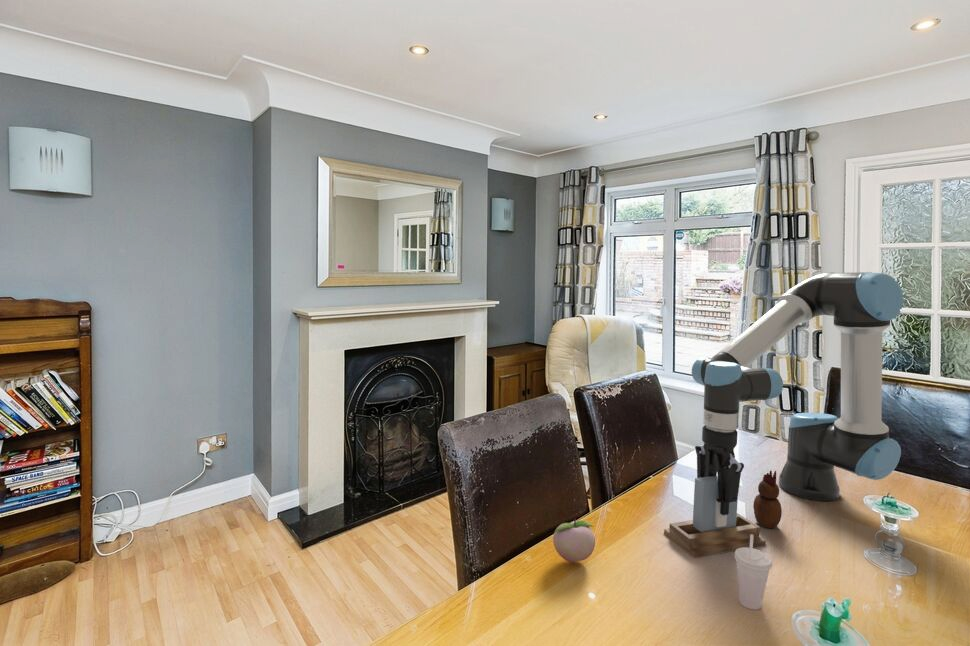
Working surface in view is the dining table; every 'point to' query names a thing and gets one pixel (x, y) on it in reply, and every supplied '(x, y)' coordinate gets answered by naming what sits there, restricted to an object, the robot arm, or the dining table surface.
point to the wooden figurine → (768, 502)
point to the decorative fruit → (574, 540)
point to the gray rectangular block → (709, 505)
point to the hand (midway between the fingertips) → (714, 521)
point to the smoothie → (752, 575)
